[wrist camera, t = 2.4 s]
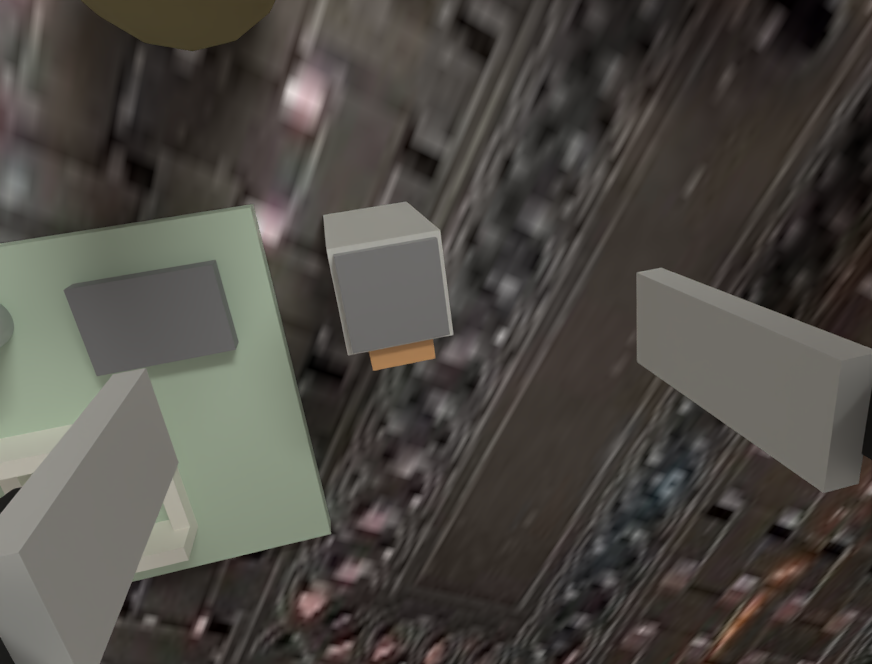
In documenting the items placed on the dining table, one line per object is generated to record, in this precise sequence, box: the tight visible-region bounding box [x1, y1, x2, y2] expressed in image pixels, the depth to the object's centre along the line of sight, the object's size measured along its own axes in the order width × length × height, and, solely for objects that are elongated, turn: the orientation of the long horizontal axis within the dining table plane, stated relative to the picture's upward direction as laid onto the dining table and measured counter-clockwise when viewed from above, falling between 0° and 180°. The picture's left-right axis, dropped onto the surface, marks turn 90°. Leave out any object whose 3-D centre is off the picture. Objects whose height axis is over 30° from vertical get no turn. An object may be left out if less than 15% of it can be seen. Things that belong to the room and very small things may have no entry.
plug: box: [323, 202, 453, 371], centre depth 24 cm, size 5×4×8 cm
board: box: [0, 204, 331, 582], centre depth 26 cm, size 18×16×4 cm
